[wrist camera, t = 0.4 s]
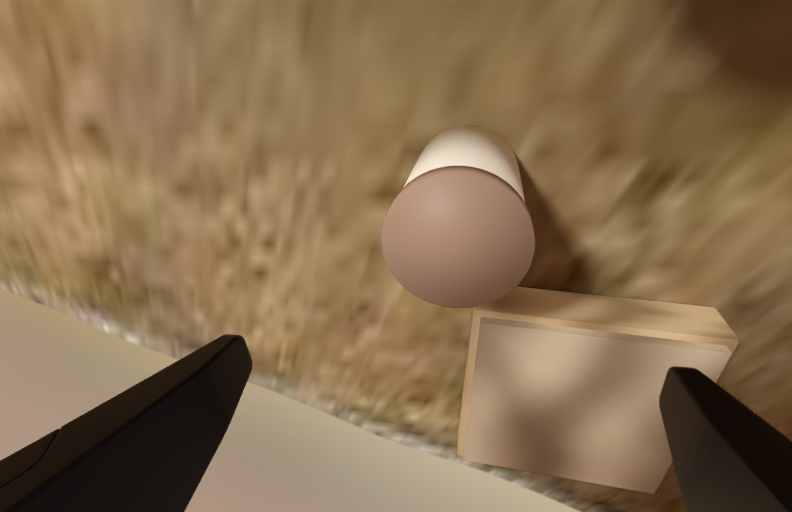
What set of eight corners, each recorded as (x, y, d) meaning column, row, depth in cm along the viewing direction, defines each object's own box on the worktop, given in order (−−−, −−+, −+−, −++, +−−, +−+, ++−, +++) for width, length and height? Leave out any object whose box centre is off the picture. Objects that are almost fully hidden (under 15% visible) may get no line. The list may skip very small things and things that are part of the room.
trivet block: (714, 307, 21) (745, 347, 18) (643, 453, 27) (659, 499, 24) (475, 282, 23) (473, 315, 20) (459, 423, 29) (456, 462, 26)
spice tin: (529, 125, 18) (548, 178, 12) (513, 229, 21) (522, 316, 15) (414, 120, 19) (379, 168, 13) (412, 221, 22) (382, 299, 16)
